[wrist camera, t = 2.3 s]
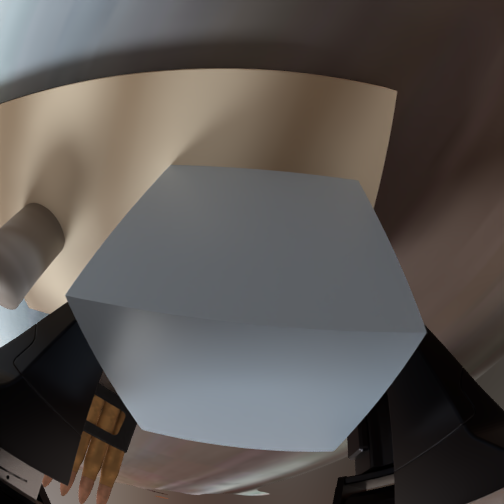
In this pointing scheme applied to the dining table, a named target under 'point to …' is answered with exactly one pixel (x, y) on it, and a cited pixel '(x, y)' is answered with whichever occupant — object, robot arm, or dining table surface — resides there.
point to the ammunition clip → (101, 445)
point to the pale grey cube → (249, 308)
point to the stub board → (162, 154)
